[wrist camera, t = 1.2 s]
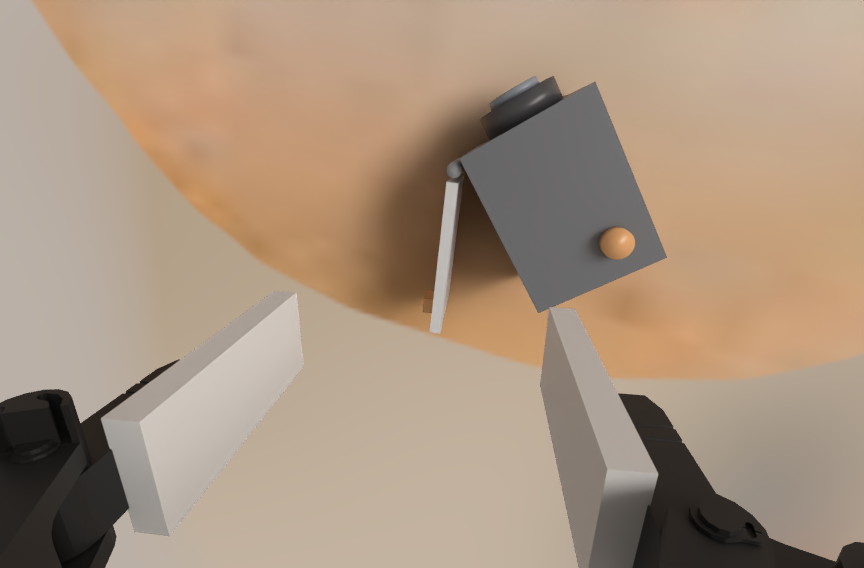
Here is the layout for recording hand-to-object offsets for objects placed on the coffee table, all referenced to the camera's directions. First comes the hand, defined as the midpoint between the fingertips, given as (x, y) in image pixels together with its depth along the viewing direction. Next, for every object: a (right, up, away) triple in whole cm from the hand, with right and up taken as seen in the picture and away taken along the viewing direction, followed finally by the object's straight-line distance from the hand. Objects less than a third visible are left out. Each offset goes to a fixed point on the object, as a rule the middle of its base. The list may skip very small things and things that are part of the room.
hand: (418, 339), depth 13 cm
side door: (+2, +7, +24) cm, 25 cm away
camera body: (+10, +11, +22) cm, 26 cm away
